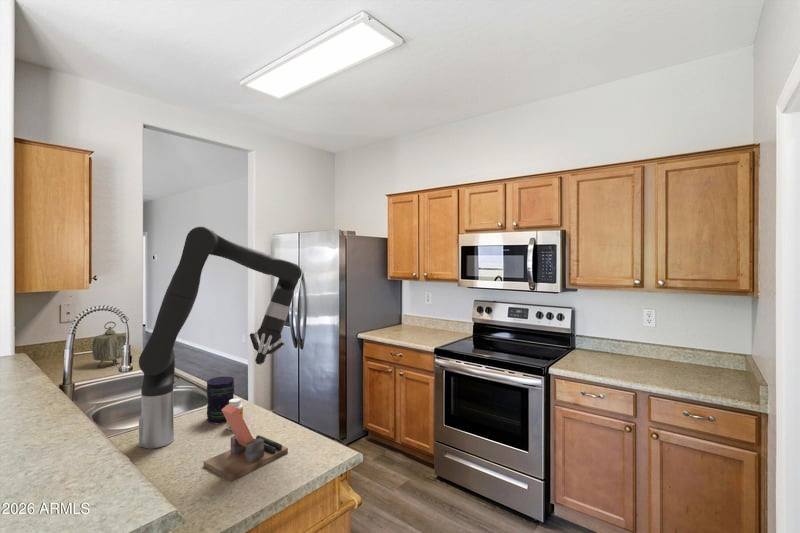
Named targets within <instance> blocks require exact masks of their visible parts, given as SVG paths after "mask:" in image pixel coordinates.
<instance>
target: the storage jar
mask: <svg viewBox="0 0 800 533" xmlns="http://www.w3.org/2000/svg"><path fill="white" fill-rule="evenodd" d="M234 395H235V378H234V377H232V376H216V377H212V378H210V379H208V380H206V397H207V406H206V417H207V418H206V421H208V422H207V423H209V424H213V423H218V424H224V423H227V420H226V418H225V416H224V414H223V412H222V409H223V408H224V407H225V406H226V405H228V404H229V400H231V399H235V398H234ZM223 422H224V423H223Z"/></svg>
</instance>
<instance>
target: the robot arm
mask: <svg viewBox="0 0 800 533" xmlns="http://www.w3.org/2000/svg"><path fill="white" fill-rule="evenodd" d="M209 256H216V257H219V258H220V257H221V258H223V259H227V260H230V261H233V262H234V263H237V264H238V265H241V266H243V267H246V268H247V269H250V270H253V271H254V272H257V273H261V274H264V275H267V276H273V277H275V278H277V279H278V281H277V284H276V287H275V289H274V291H273V294H272V296H271V299H270V301H269V304H268V306H267V308H266V311H265V312H264V316H263V319H262V321H261V323H260V326H259V328H258V329H257V331H256V332H253V333H252V332H251V333H250V334H249V337H250V341H251V344H252V347H253V349H254V350H255V351H257V354H256V357H255V360H254V361H255V363H256V364H257V365H261V366H262V364H264V363H265V361H266V358H267V355H272V354H274V353H276V352H277V351H278V350H280V349H281V348H283V347H284V346H285V345H286V344H285V342H284V341H283V340H282V339H281V338H282V332H283V329H284V327H285V323H286V321H287V318H288V314H289V310H290V307H291V304H292V301H293V298H294V293H295V292H294V291H295V290H296V287H297V285H298V281H299V280H300V279H301V277H302V268H301V266H299V265H298V264H296V263H294V262H291V261H289V260H286V259H283V258H282V259H281V258H277V257H275V256H273V255H271V254H268V253H266V252H263V251H260V250H257V249H254V248H252V247H248V246H244V245H241V244H238V243H235V242H233V241H230V240H229V239H226V238H224V237H223V236H221V235H220V234H218V233H216V232H215V231H213V229H210V228H208V227H205V226H195V227H194V228H192V229H191V230H189V231H188V233H187V234H186V238H185V241H184V245H183V250H182V254H181V257H180V259H179V263H178V265H177V267H176V269H175V271H174V273H173V275H172V276H171V277H172V278H171V279H170V282H169V284H168V286H167V288H166V291H165V294H164V296H163V298H162V301H161V304H160V308H159V310H158V314H157V317H156V320H155V324H154V327H153V329H152V333H151V335H150V336H149V339H148V341H147V342H146V344H145V347H144V348H143V350H142V352H141V353H140V355H139V358H138V366H139V369H140V371H141V372H143V377H142V378H143V379H142V383H141V387H140V388H141V390H140V393H141V394H140V395H141V396H140V397H141V402H140V404H141V415H140V417H139V418H138V447H140V448H144V449H149V450H150V449H157V448H162V447H165V446H168V445H170V444H171V443H172V442H173V441H174V440H175V435H174V434H175V432H174V431H175V429H174V428H175V427H174V425H175V424H174V423H175V422H174V421H175V419H174V418H175V417H174V415H175V414H174V413H175V412H174V383H175V377H176V375H175V368H176V367H175V362H176V361H175V359H176V358H175V357H176V356H175V351H174V346H175V343H176V340H177V337H178V336H179V333H180V332H181V329H183V326H184V325H185V323H186V321H187V319H189V316H190V313H191V312H192V310H193V307H194V304H195V302H196V299H197V296H198V293H199V288H200V284H201V277H202V272H203V269H204V267H205V264H206V262H207V260H208V258H209ZM258 339H259V340H258ZM258 341H259V342H258ZM274 344H276V345H275V346H274V347H272V346H273V345H274Z"/></svg>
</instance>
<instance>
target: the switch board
mask: <svg viewBox="0 0 800 533" xmlns="http://www.w3.org/2000/svg"><path fill="white" fill-rule="evenodd" d="M253 439H254V441H252V442H250V443H247V444H246V447H244V446H242V445H240V444H239V443H238V441H237V439H236V437H235V435H233V436H231V437H230V449H229V450H227V451H224V452H222V453H220V454H218V455H215V456H213V457H210V458H209V459H206V460H204V461H203V467H204V468H206V469H207V470H209V471H212V472H213V473H215V474H216V475H219V476H221V477H223V478H224V479H225V480H228V481H229V482H233V481H235V480H237V479H239V478H241V477H243V476H244V475H247V474H248V473H251V472H252V470H253V471H254V470H255V471H256V468H257V469H258V467H259V468H261V467H262V465H263V466H264V464H265V465H267V464H268V462H269V463H270V461H271V462H273V461H274V459H275V460H276V459H278V458H280V457H283V456H284V455H286V454H288V453H289V448H288V447H286V446H284V445H283V444H282V443H279V442H276V441H274V440H271V439H269V438H267V437H265V436H262V435H259V434H258V435H256V436H255V438H254V437H253ZM272 460H273V461H272ZM266 463H267V464H266ZM260 466H261V467H260Z"/></svg>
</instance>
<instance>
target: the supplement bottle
mask: <svg viewBox="0 0 800 533" xmlns="http://www.w3.org/2000/svg"><path fill="white" fill-rule="evenodd" d="M241 402H242V401H241V398H237V397H236V398H234V399H231V400H229V405H231V406H234V407H237V408H238V409H239V411H240V413H241V415H242V417H243V418H244V405H243V403H241ZM226 430H228V431H232V429H231V427H230V426H229V424H228V422H226Z"/></svg>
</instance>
